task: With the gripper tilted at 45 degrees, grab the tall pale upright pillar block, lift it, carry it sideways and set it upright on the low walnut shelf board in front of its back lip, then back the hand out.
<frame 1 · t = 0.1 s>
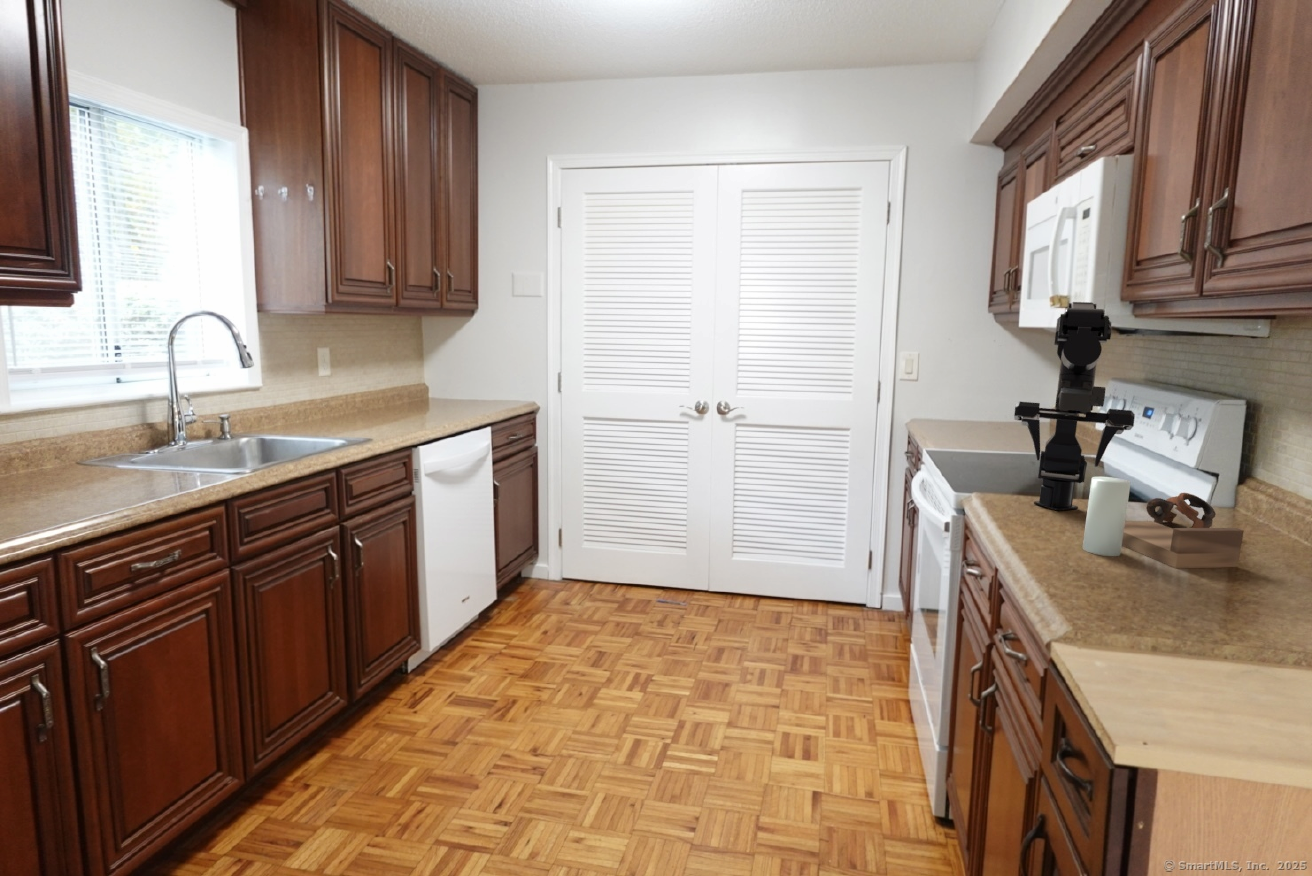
hand: (1066, 463, 141), 15 cm above the counter, tool pointing down, fingers open, 9 cm apart
rusty ring shackle: (1175, 529, 161), on the counter
walnut shelf board: (1161, 549, 145), on the counter
pale upright pillar block: (1101, 550, 143), on the counter
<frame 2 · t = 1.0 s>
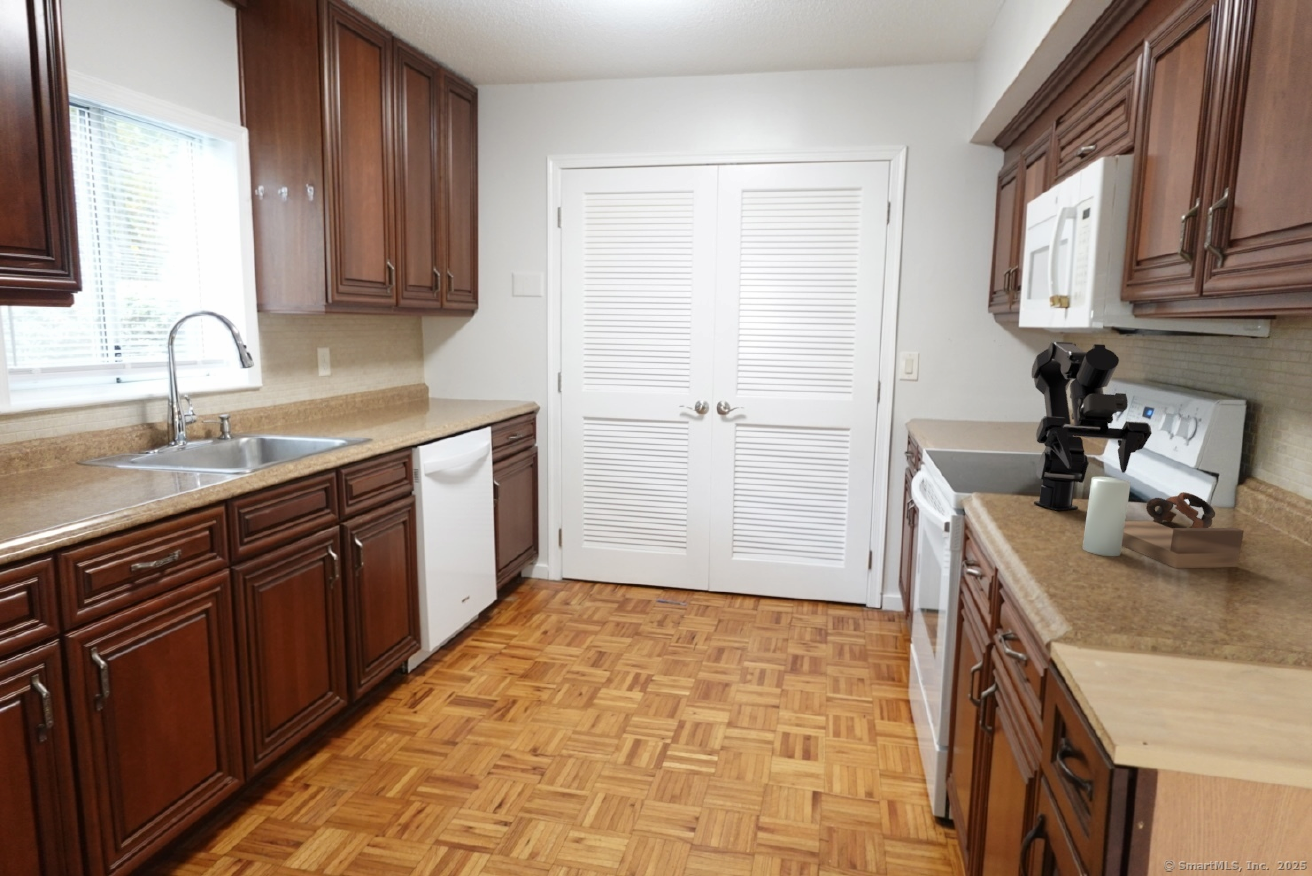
hand: (1097, 469, 148), 13 cm above the counter, tool tilted 45°, fingers open, 9 cm apart
nothing on the counter moved.
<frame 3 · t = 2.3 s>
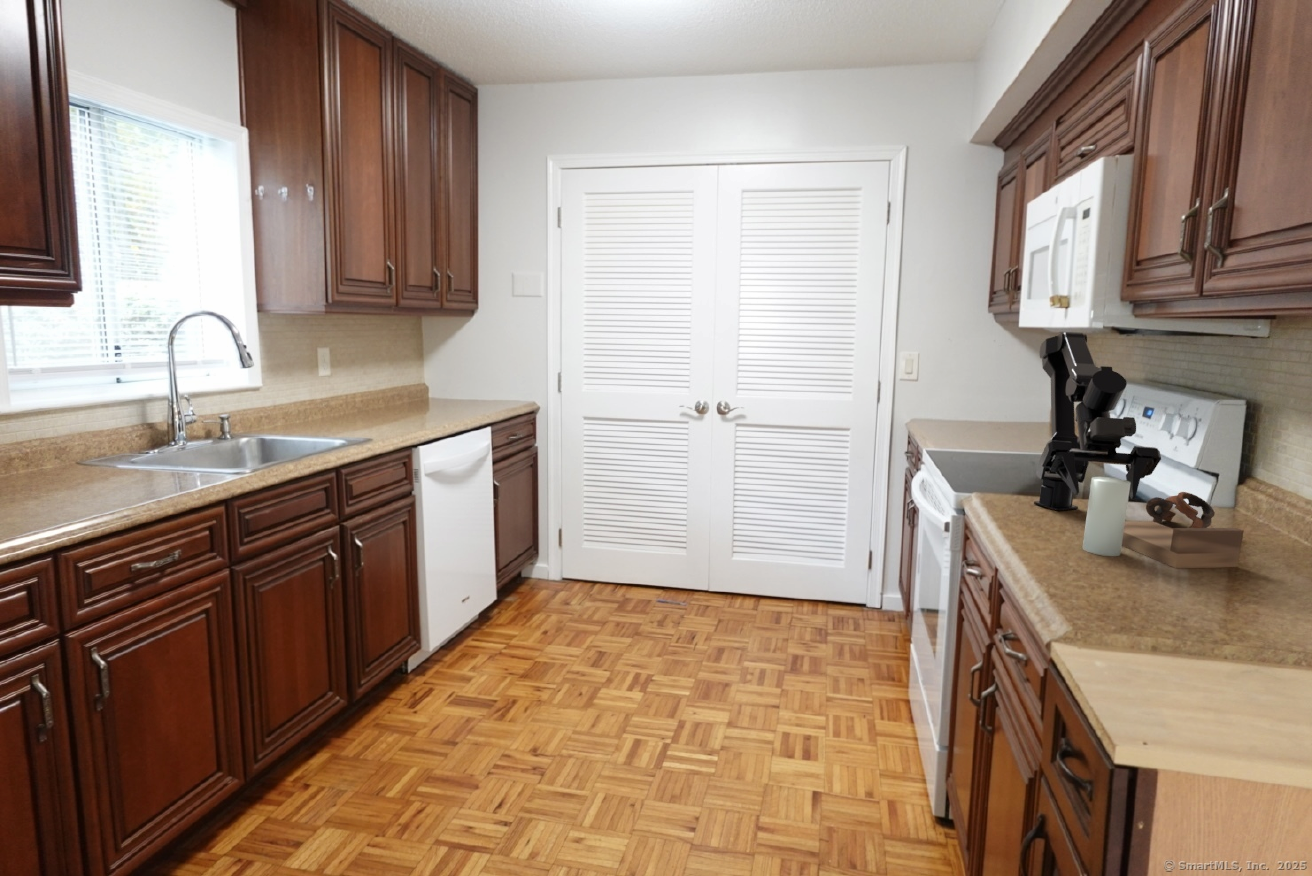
hand: (1105, 495, 143), 10 cm above the counter, tool tilted 45°, fingers open, 9 cm apart
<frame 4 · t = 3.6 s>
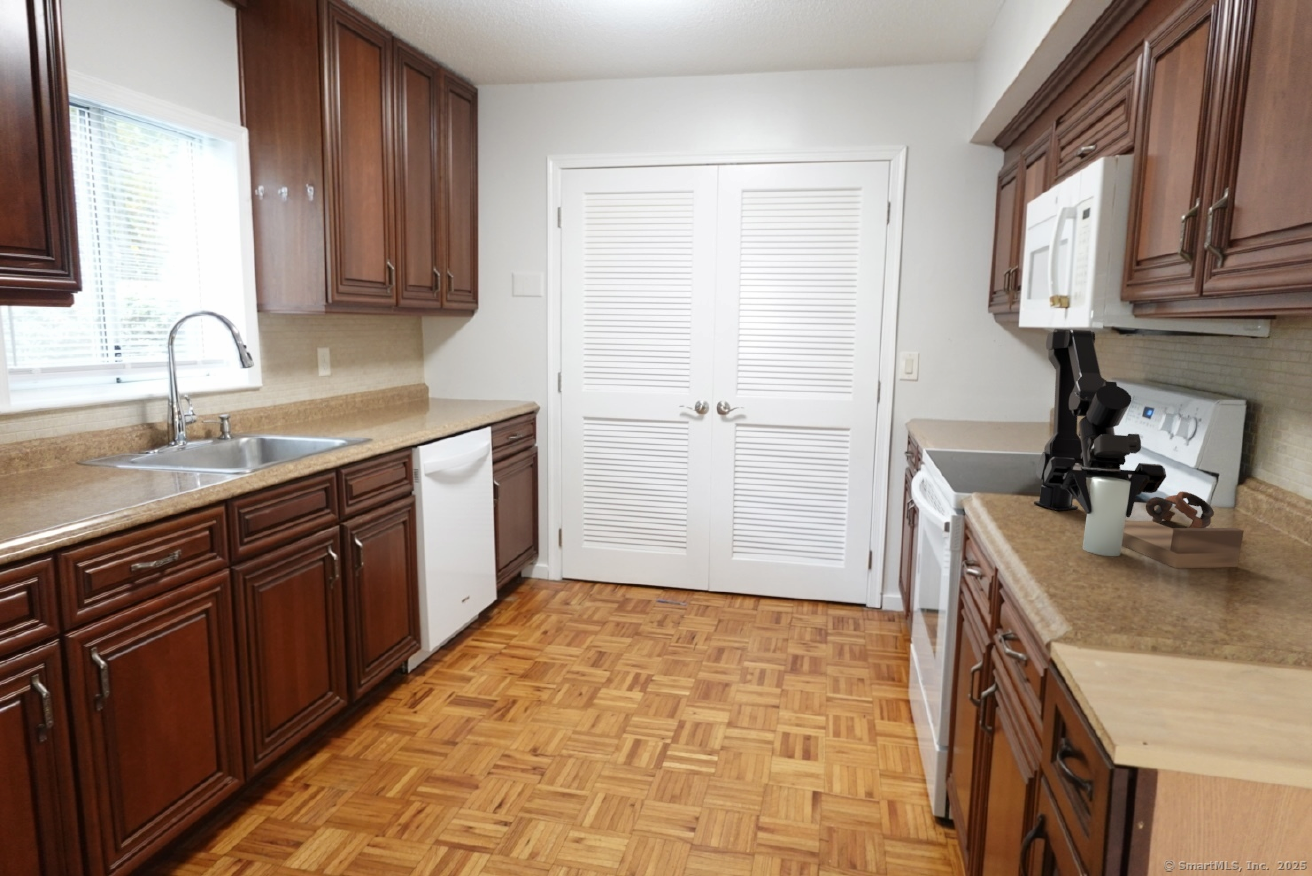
hand: (1109, 514, 140), 7 cm above the counter, tool tilted 45°, fingers closed on pale upright pillar block, 6 cm apart
pale upright pillar block: (1101, 550, 143), on the counter, touching gripper
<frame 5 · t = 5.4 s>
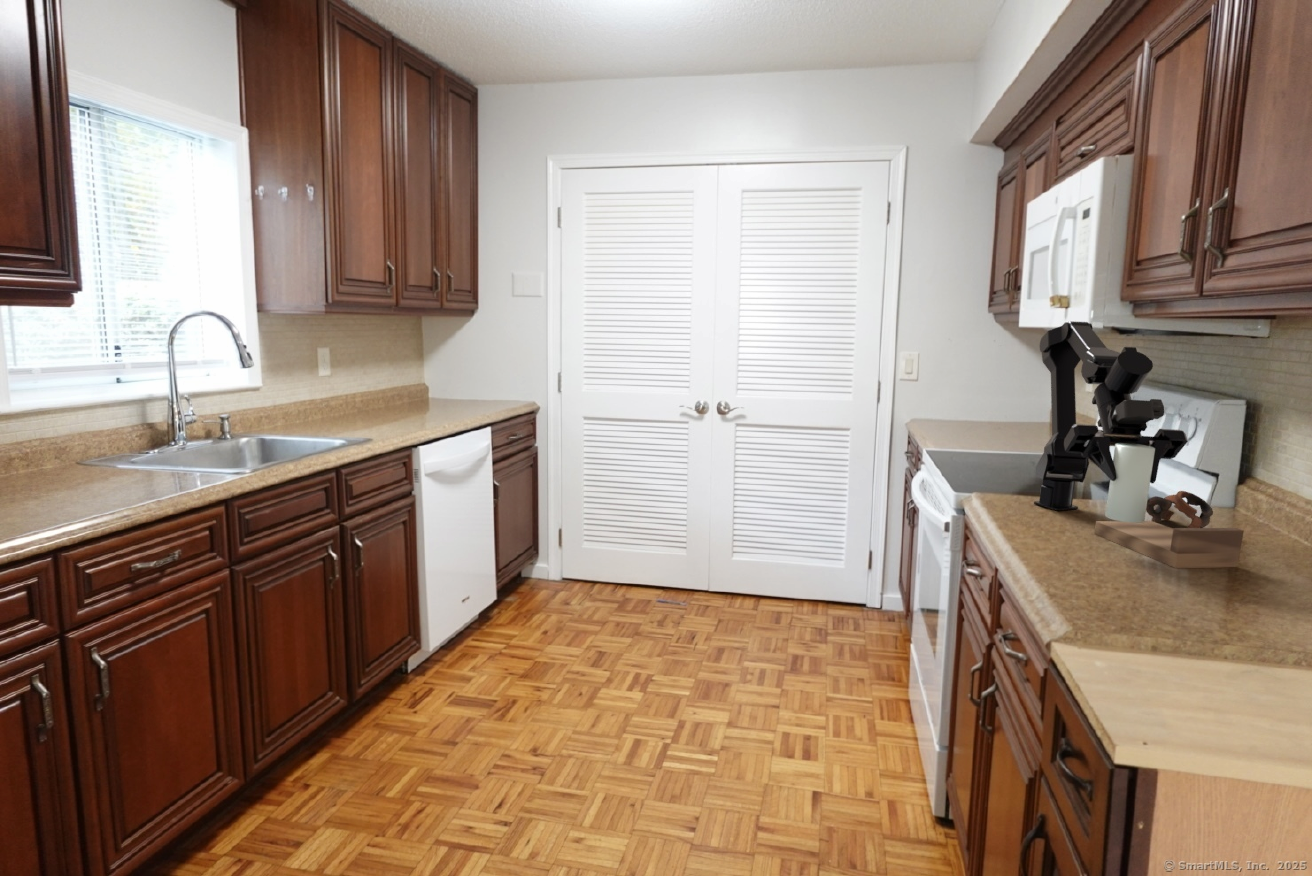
hand: (1133, 480, 138), 13 cm above the counter, tool tilted 45°, fingers closed on pale upright pillar block, 6 cm apart
pale upright pillar block: (1124, 518, 141), point 6 cm above the counter, touching gripper
when the fingers open (11 cm above the counter, at t = 7.1 s): pale upright pillar block drops 1 cm, resting on walnut shelf board.
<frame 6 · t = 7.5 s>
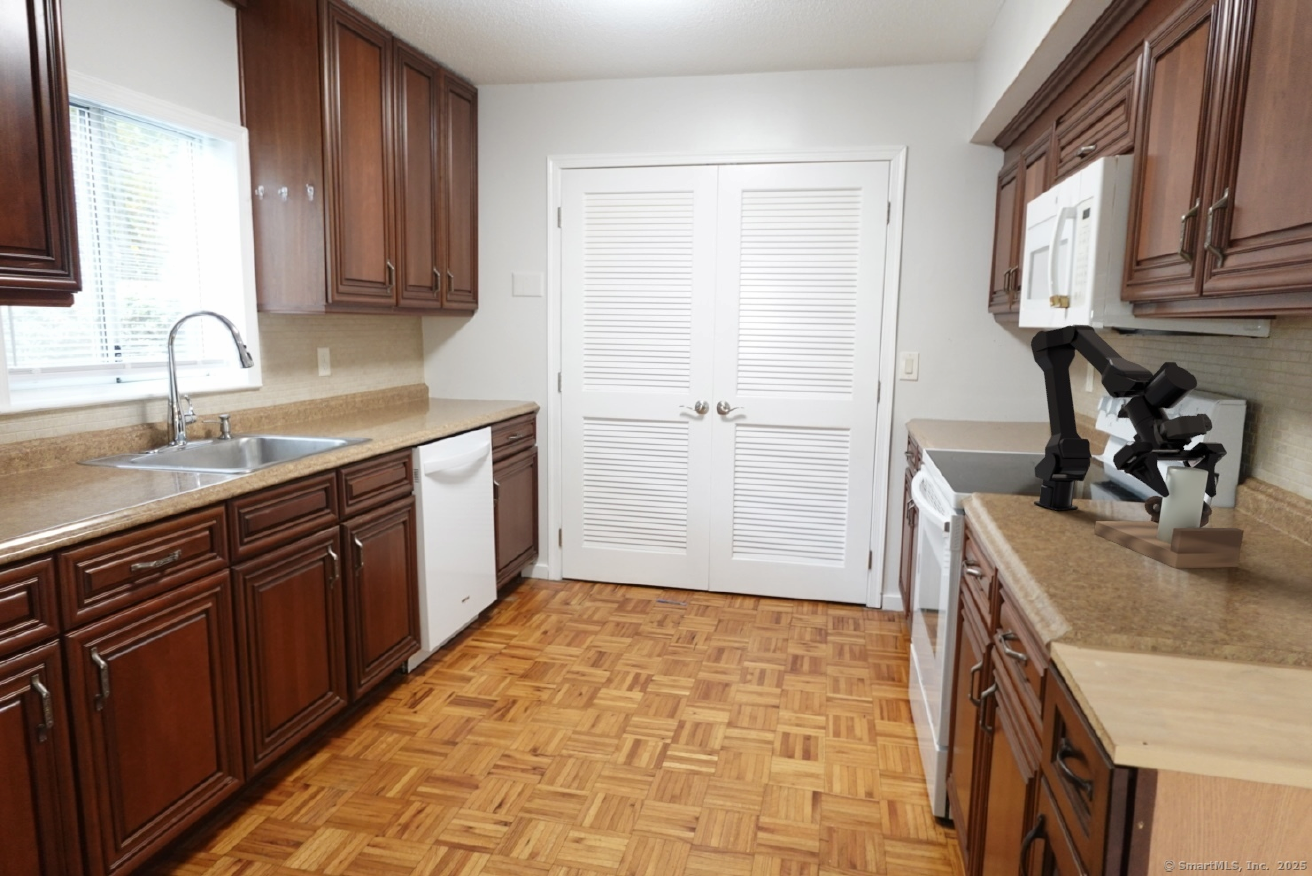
hand: (1190, 496, 139), 11 cm above the counter, tool tilted 45°, fingers open, 9 cm apart
pale upright pillar block: (1176, 540, 142), point 3 cm above the counter, touching walnut shelf board
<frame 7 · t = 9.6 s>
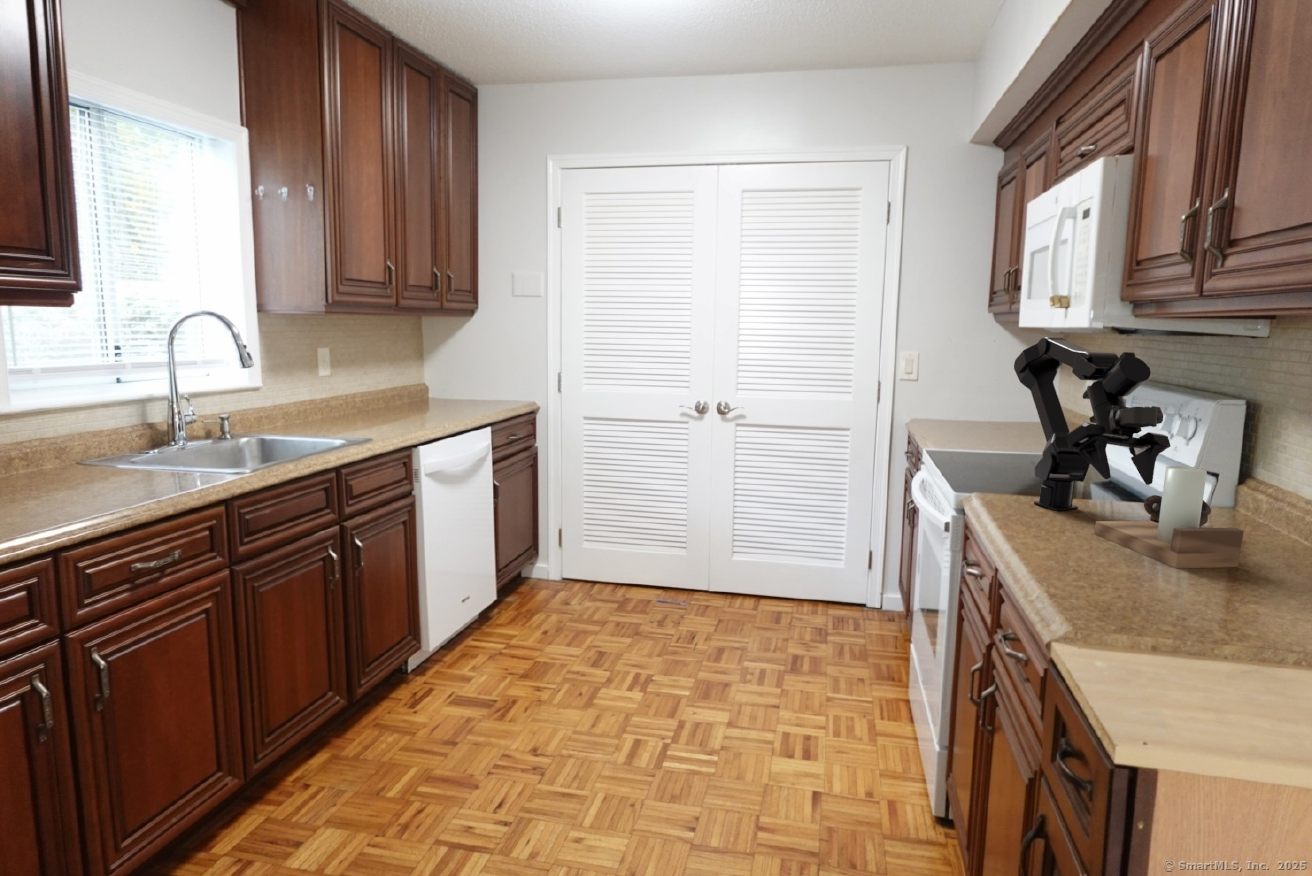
hand: (1128, 481, 149), 11 cm above the counter, tool tilted 35°, fingers open, 9 cm apart
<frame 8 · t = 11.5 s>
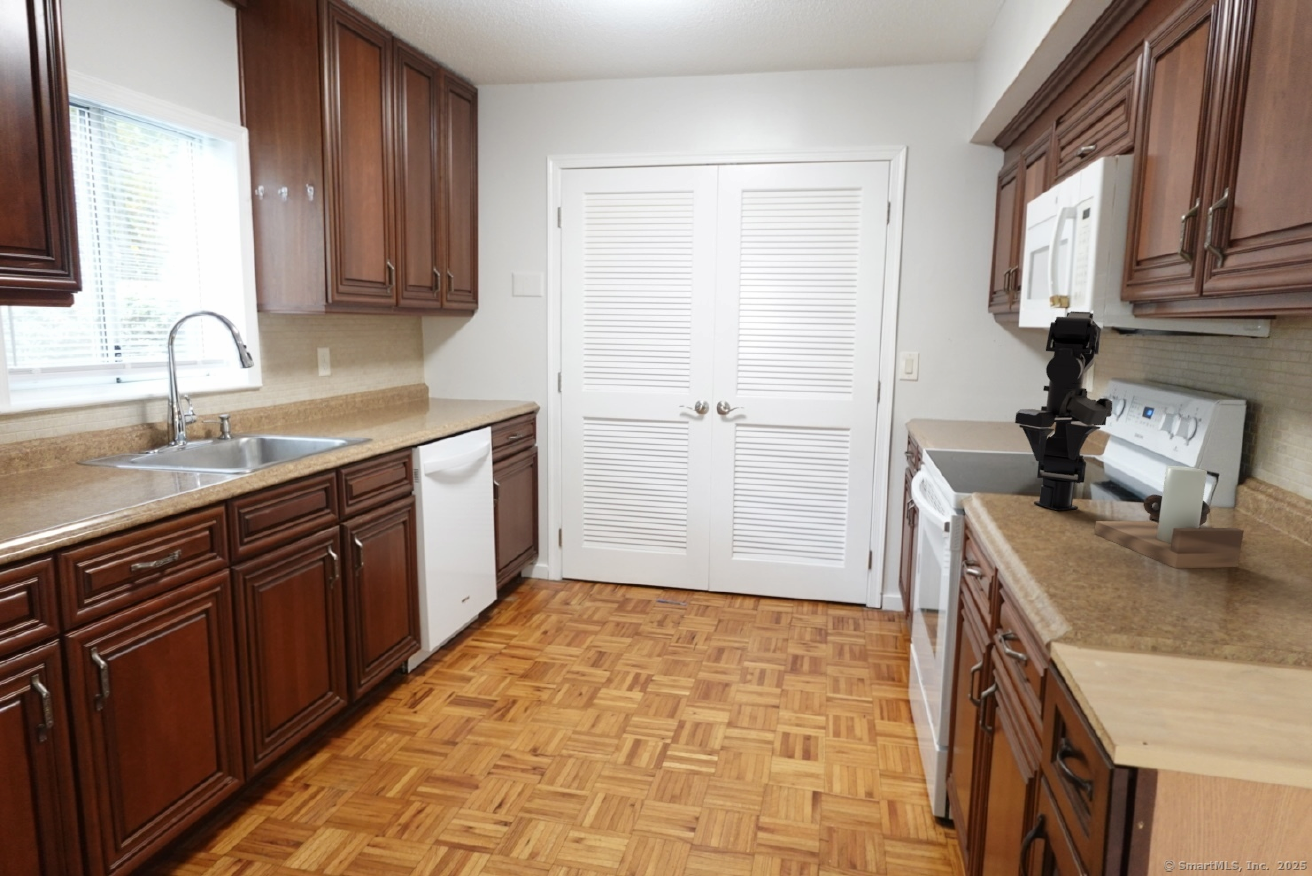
hand: (1055, 460, 158), 13 cm above the counter, tool pointing down, fingers open, 9 cm apart
at the end: pale upright pillar block inside the target area on the walnut shelf board (0.1 cm from its centre), point 2.5 cm above the walnut shelf board's base; pale upright pillar block tilted 1°; the gripper is holding nothing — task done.
